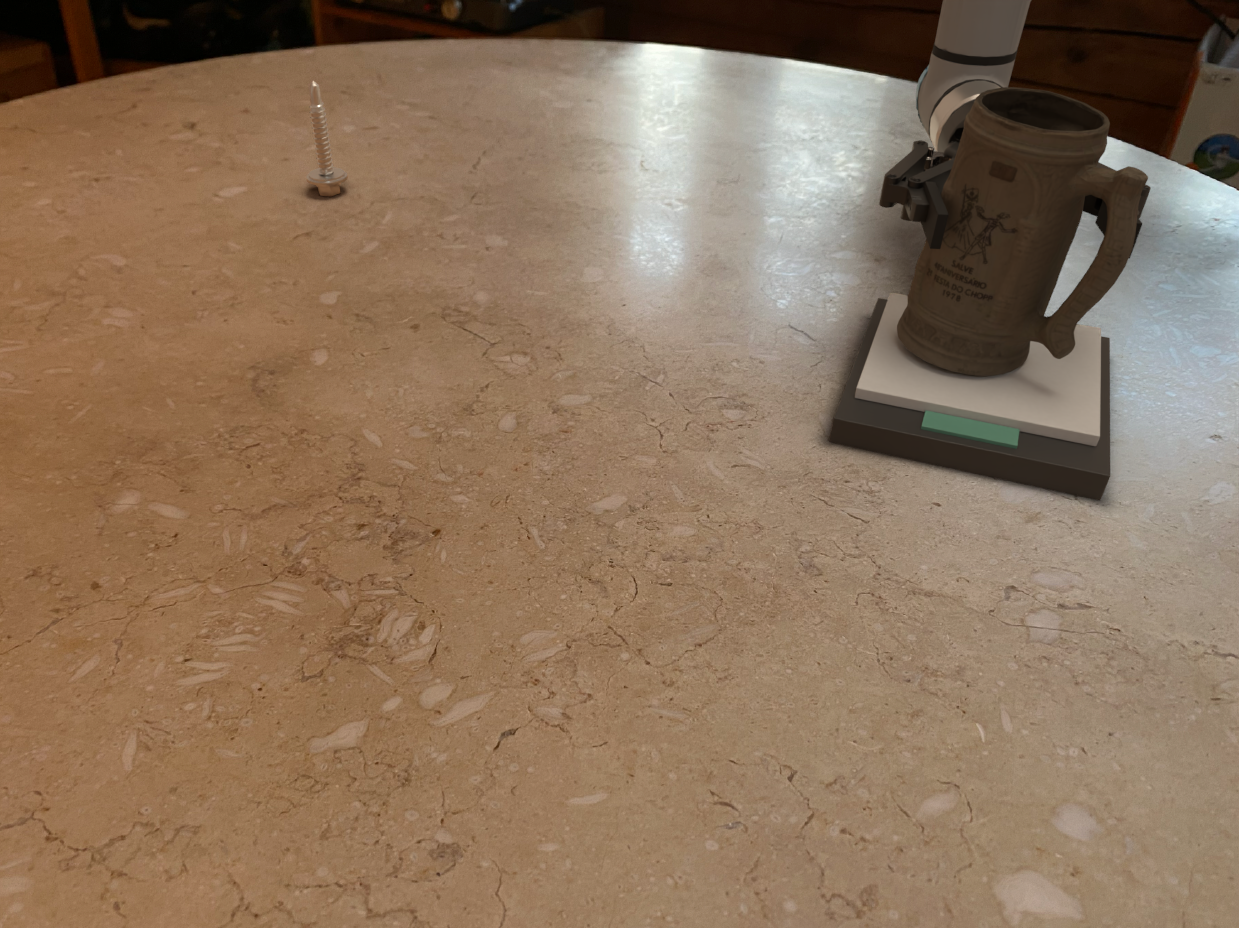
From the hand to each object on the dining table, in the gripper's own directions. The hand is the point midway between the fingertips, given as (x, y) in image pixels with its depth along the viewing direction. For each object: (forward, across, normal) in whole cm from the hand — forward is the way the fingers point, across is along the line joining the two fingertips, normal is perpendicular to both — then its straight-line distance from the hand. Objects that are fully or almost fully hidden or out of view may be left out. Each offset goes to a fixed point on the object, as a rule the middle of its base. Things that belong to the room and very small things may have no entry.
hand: (1034, 236), depth 76 cm
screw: (-41, +69, -16) cm, 81 cm away
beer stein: (-3, 0, -12) cm, 12 cm away
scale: (-2, 0, -16) cm, 16 cm away
